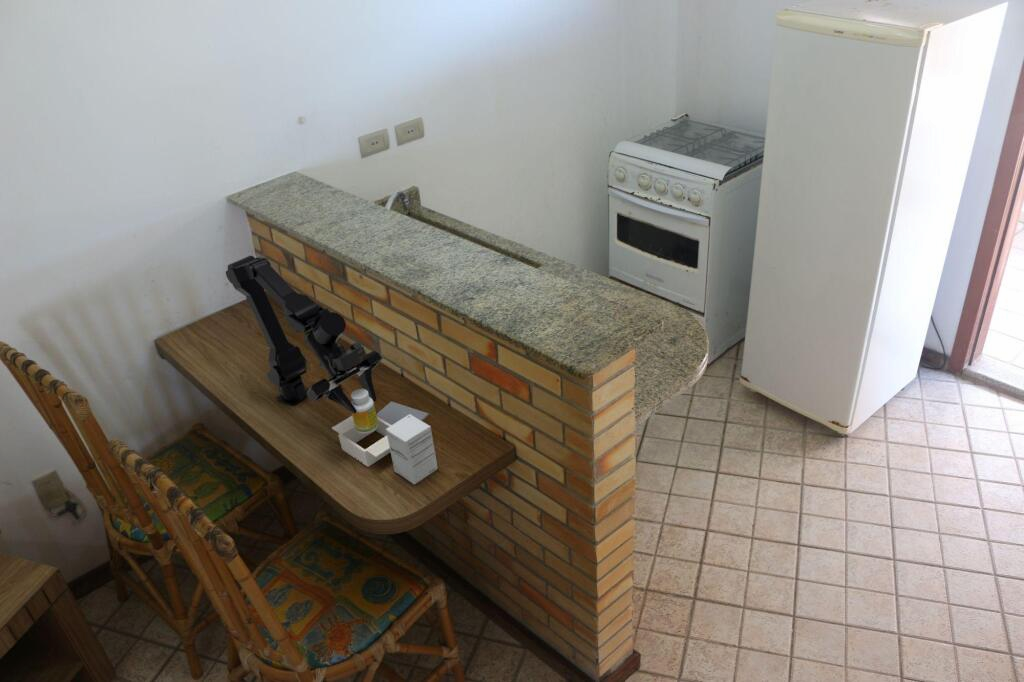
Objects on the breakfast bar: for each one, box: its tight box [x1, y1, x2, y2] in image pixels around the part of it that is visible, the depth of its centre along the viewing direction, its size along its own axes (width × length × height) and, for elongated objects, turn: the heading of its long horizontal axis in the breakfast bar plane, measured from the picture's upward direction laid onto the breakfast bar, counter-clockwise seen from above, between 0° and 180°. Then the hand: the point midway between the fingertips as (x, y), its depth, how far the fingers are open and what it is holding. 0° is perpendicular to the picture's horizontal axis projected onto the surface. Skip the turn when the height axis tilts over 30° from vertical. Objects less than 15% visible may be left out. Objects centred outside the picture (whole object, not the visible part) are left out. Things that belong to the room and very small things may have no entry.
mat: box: [376, 401, 430, 425], centre depth 209 cm, size 12×8×1 cm, turn 58°
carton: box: [331, 415, 391, 468], centre depth 199 cm, size 17×10×4 cm, turn 46°
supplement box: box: [386, 414, 438, 485], centre depth 188 cm, size 7×7×13 cm
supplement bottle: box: [350, 388, 378, 434], centre depth 194 cm, size 5×5×10 cm
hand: (365, 406), depth 193 cm, fingers closed on supplement bottle, 5 cm apart
